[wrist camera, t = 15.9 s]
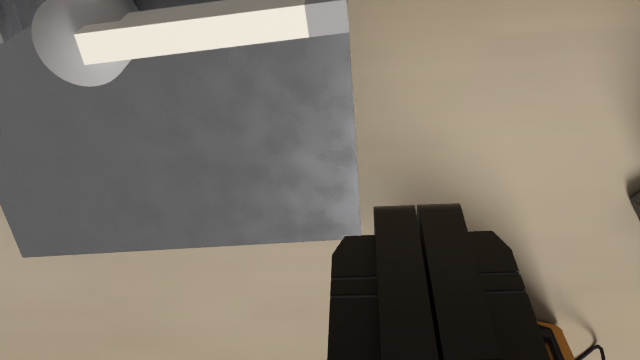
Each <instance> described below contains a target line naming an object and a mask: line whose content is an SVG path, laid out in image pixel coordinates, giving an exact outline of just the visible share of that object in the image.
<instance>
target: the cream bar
mask: <svg viewBox="0 0 640 360" xmlns="http://www.w3.org/2000/svg"><path fill="white" fill-rule="evenodd" d="M31 30H32V40H33V44H34V47H35V49H36V52H37V54H38V55H39V57H40V59H41V60H42V61H43V63H44V64H45V65H46V66H47V67H48V68H49V69H50V70H51V71H52V72H53V73H54V74H55V75H57V76H58V77H60V78H62V79H63V80H65V81H67V82H70V83H72V84H76V85H80V86H88V87H91V86H100V85H103V84H106V83H108V82H110V81H112V80H113V79H115V78H116V77H117V76H118V75H119V74H120V73H121V72H122V71H123V69H124V68H125V67H126V66H127V65H128V63H129V62H130V61H131V60H132V59H138V58H146V57H154V56H162V55H170V54H179V53H187V52H195V51H203V50H211V49H219V48H227V47H235V46H243V45H251V44H259V43H267V42H275V41H284V40H292V39H300V38H308V37H316V36H324V35H332V34H340V33H348V32H350V31H349V17H348V7H347V0H223V1H215V2H207V3H200V4H192V5H184V6H177V7H169V8H161V9H154V10H146V11H139V10H138V8H137V7H136V5H135V3H134V2H133V1H132V0H46V1H45V2H44V3H42V5H41V6H40V7H39V8H38V10H37V11H36V13H35V15H34V18H33V21H32V29H31Z"/></svg>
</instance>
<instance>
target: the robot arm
mask: <svg viewBox="0 0 640 360" xmlns="http://www.w3.org/2000/svg"><path fill="white" fill-rule="evenodd" d="M374 234H375V235H360V236H345V237H344V238H343V240H342V241H341V243H340V244H339V246H338V247H337V249H336V250H335V252H334V253H333V254H332V269H331V291H330V313H329V335H328V357H327V360H551V359H550V356H549V354H548V351H547V348H546V345H545V342H544V340H543V337H542V334H541V331H540V328H539V326H538V323H537V320H536V317H535V314H534V312H533V309H532V306H531V303H530V300H529V298H528V295H527V294H526V292H525V287H524V284H523V281H522V278H521V275H519V270H518V267H517V264H516V261H515V259H514V256H513V253H512V250H511V249H510V248H509V247H508V246H507V245H506V244H505V243H504V242H503V241H502V240H501V239H500V238H499V237H498V236H497V235H496V234H495V233H494V232H493V231H474V232H468V231H467V227H466V224H465V220H464V216H463V213H462V209H461V206H460V204H459V203H457V204H430V205H417V217H416V210H415V206H414V205H408V206H381V207H374Z"/></svg>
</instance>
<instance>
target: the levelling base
mask: <svg viewBox="0 0 640 360" xmlns="http://www.w3.org/2000/svg"><path fill="white" fill-rule="evenodd" d="M45 1H46V0H0V204H1V207H2V209H3V212H4V214H5V216H6V219H7V221H8V224H9V226H10V228H11V231H12V233H13V236H14V238H15V241H16V243H17V245H18V248H19V250H20V253H21V255H22V257H23V258H24V257H41V256H59V255H77V254H95V253H112V252H130V251H148V250H165V249H183V248H201V247H219V246H236V245H254V244H272V243H290V242H307V241H325V240H343V238H344V237H345V236H360V235H361V222H360V206H359V189H358V173H357V157H356V140H355V124H354V107H353V91H352V75H351V58H350V42H349V32H348V33H340V34H332V35H324V36H316V37H308V38H300V39H292V40H284V41H275V42H267V43H259V44H251V45H243V46H235V47H227V48H219V49H211V50H203V51H195V52H187V53H179V54H170V55H162V56H154V57H146V58H138V59H132V60H131V61H130V62H129V63H128V65H127V66H126V67H125V68H124V69H123V71H122V72H121V73H120V74H119V75H118V76H117V77H116V78H115V79H113V80H112V81H110V82H108V83H106V84H103V85H100V86H91V87H88V86H80V85H76V84H72V83H70V82H67V81H65V80H63V79H62V78H60V77H58V76H57V75H55V74H54V73H53V72H52V71H51V70H50V69H49V68H48V67H47V66H46V65H45V64H44V63H43V61H42V60H41V59H40V57H39V55H38V54H37V52H36V49H35V47H34V44H33V40H32V30H31V29H32V21H33V18H34V15H35V13H36V11H37V10H38V8H39V7H40V6H41V5H42V3H44V2H45ZM132 1H133V2H134V3H135V5H136V7H137V8H138V10H139V11H146V10H154V9H161V8H169V7H177V6H184V5H192V4H200V3H207V2H215V1H223V0H132Z"/></svg>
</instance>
